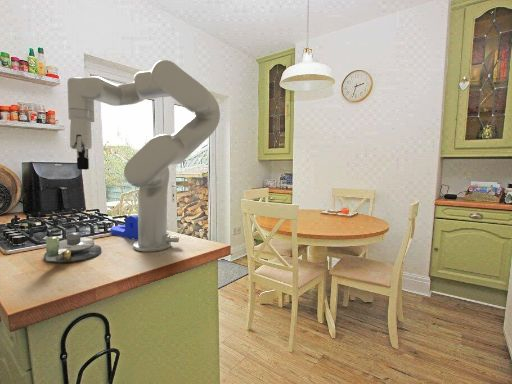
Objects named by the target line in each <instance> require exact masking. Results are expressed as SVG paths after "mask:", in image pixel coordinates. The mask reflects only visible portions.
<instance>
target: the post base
mask: <svg viewBox="0 0 512 384" xmlns="http://www.w3.org/2000/svg"><path fill="white" fill-rule="evenodd" d="M101 254H102V247H101V245H98V244H94V246H93V247H91V248H89V249H86V250H83V251H78V252H71V250H66V251H64V256H63V257H61V258H60V259H58V260H56V261H46V256H47V254H46V252H45V253H44V254H43V260H44V261H45V262H47V263H51V264H72V263H80V262H83V261H87V260H90V259H94V258H95V257H97V256H99V255H101Z"/></svg>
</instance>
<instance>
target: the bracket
mask: <svg viewBox="0 0 512 384" xmlns="http://www.w3.org/2000/svg"><path fill="white" fill-rule="evenodd" d="M111 233H112V234H111ZM110 234H111V235H114V236H119V237H123V238H128V239H132V240H136V241H138V215H136V214H134V215H129V216H127V217H126V218H125V221H124V224H122V225H121V224H120V225H114V226H112V227H110Z"/></svg>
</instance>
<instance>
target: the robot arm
mask: <svg viewBox="0 0 512 384" xmlns="http://www.w3.org/2000/svg"><path fill="white" fill-rule="evenodd" d="M168 97H171V98H172V99H173V100H175V101H176V102H177V103H179V104H180V105H181V106H182V107H184V108H185V109H186V110H188V111H190V112H191V113H193V114H194V115H193V117H192V118H191V119H189V120H188V121H186V122H185V123H184V124H183V125H181V126H180V128H179V129H177V130H176V131H175V132H174V133H172V134H167V133H166V134H165V133H162V134H158V135H155V136H154V137H152V138H151V139H150V140H149V141H147V142H146V143H145V144H144V145H143V146H142V147H141V148H139V150H138V151H137V152H136V153H135V154H133V156H132V157H131V158H129V160H128V161H127V163H126V164H125V166H124V168H123V169H124V170H123V171H124V172H123V176H124V179H125V180H126V182H127V183H128V184H129V185H131V186H133V187H136V188H139V189H138V193H137V194H138V196H137V216H138V240H136V241H134V242H133V245H132V248H133V249H134V250H136V251H140V252H144V253H145V252H151V253H152V252H159V251H163V250H167V249H168V248H170V247H171V246H172V243H179V242H180V237H179V236H177V235H170V234H169V233H170V232H169V231H167V229H168V228H167V225H168V221H167V220H168V218H167V216H168V208H167V207H168V188H169V181H170V169H169V167H170V166H171V165H172V166H173V165H179V164H181V163H183V162H184V161H185V160H186V159H187V158H188V157H189V156H190V155H192V154H193V153H194V152H195V151H196V150H197V149H198V148H199V147H200V146H201V145H202V144H203V143H204V142H206V140H207V139H208V138H210V137H211V136H212V134H213V133H214V132H215V131H216V129H217V127H218V125H219V123H220V118H221V111H220V106H219V104H218V100H217V99H216V97H215V96H214V95H213V94H212V92H211V91H209V90H208V88H206V87H205V86H204V85H202V84H201V83H200V82H199V81H198V80H196V79H195V78H194V77H192V76H191V75H190V74H189V73H188V72H186V71H185V70H183V69H182V68H181V67H180V66H178V65H177V64H176V63H175V62H174V61H171V60H169V59H163V60H162V59H161V60H159V61H157V62H156V63H155V64H154V65H153V67H152V68H151V70H147V71H146V70H145V71H138V72H136V73H135V74H134V76H133V82H130V83H129V82H128V83H123V84H122V83H120V84H116V83H113V82H111V81H109V80H106V79H105V78H102V77H100V76H88V77H77V76H76V77H70V78H68V79H67V106H68V107H67V108H68V109H67V110H68V120H70V126H69V129H70V130H69V131H70V132H69V147H70V148H71V149H74V150H76V164H77V165H76V168H77V170H89V169H90V168H89V167H90V166H89V165H90V164H89V163H90V162H89V161H90V159H89V150H90V149H92V145H93V142H92V140H93V138H92V123H95V101H97V102H100V103H103V104H107V105H110V106H115V107H117V106H129V105H135V104H138V103H140V102H143V101H144V100H149V99H157V98H158V99H159V98H168Z"/></svg>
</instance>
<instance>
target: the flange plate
mask: <svg viewBox="0 0 512 384" xmlns="http://www.w3.org/2000/svg"><path fill="white" fill-rule="evenodd" d="M94 245H95V240H94V239H93V238H87V237H81V232H78V231H77V232H76V231H73V232H68V233H66V239H63V240H60V237H59V236H57V235H54V236H48V237H47V236H46V238H45V247H46V248H45V249H46V252H45V253H46V254H47V256H46V261H45V262H47V261H56V260H58V259H60V258H61V257H63V256H64V251H66V250H71V252H78V251H83V250H86V249H89V248H91V247H93V246H94Z"/></svg>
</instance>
